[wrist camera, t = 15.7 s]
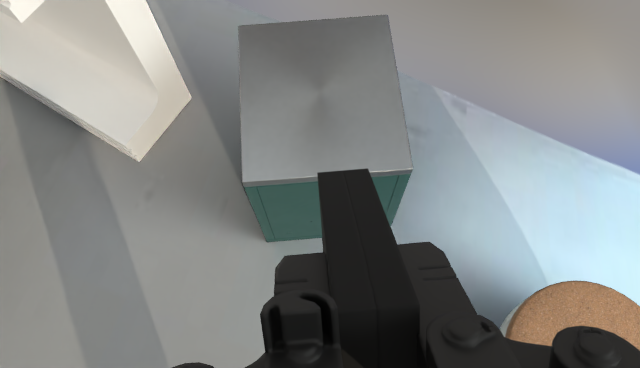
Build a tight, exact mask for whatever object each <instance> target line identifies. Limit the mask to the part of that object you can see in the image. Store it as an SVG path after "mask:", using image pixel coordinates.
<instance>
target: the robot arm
mask: <svg viewBox="0 0 640 368" xmlns="http://www.w3.org/2000/svg"><path fill="white" fill-rule="evenodd" d="M317 177H318V189H319V202H320V215H321V228H322V240H323V253H313V254H301V255H290V256H284V258H283V259H282V260H281V262H280V263H279V264H278V266H277V267H276V269H275V286H274V297H272V298H271V299H270V300H269V301H268V302H267V303H266V304H265V305H264V306H263V309H262V311H261V314H260V317H261V324H262V331H263V338H264V345H265V353H264V354H263V355H262V356H261V357H260V358H259V359H258V360H257V361H255V362H254V363H252V364H251V365H249V366H247V367H245V368H640V350H639V349H637V348H636V347H635V346H633V345H632V344H631V343H630V342H628V341H626V340H625V339H623V338H621V337H620V336H618V335H616V334H615V333H612V332H609V331H606V330H603V329H600V328H597V327H589V326H574V327H567V328H565V329H563V330H561V331H559V332H557V334H556V335H555V337H554V339H553V341H552V346H547V345H539V344H532V343H525V342H520V341H515V340H511V339H509V338H506V337H504V336H503V334H502V332H501V331H500V330H499V329H498V327H497V326H496V325H495V324H494V323H493V322H492V321H490V320H488V319H486V318H484V317H483V316H481V315H477V313H476V311H475V310H474V308H473V306H472V304H471V302H470V300H469V298H468V296H467V295H466V293H465V291H464V289H463V287H462V285H461V283H460V282H459V280H458V278H456V274H455V272H454V270H453V268H452V267H451V265H450V263H449V261H448V259H447V257H446V255H445V254H444V252H443V251H442V250H440V249H439V248H437V247H436V246H434V245H433V244H432V243H430V242H422V243H411V244H399V245H397V243H396V240H395V238H394V235H393V233H392V230H391V227H390V225H389V222H388V219H387V217H386V214H385V212H384V209H383V206H382V204H381V201H380V198H379V196H378V193H377V190H376V188H375V185H374V183H373V180H372V177H371V175H370V172H369V169H368V168H366V169H354V170H342V171H330V172H318V173H317ZM172 368H214V367H213V366H211V365H207V364H203V363H184V364H181V365H178V366H175V367H172Z"/></svg>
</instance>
